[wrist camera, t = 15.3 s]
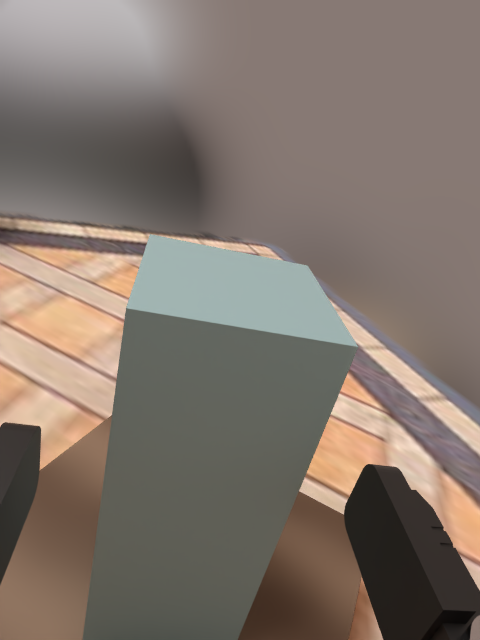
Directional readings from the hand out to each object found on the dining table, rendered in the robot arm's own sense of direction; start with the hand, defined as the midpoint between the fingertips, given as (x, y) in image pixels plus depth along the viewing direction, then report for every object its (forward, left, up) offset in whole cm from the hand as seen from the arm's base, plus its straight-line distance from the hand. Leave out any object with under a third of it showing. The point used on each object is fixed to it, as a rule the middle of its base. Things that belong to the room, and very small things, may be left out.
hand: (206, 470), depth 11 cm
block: (+2, +1, -8) cm, 8 cm away
